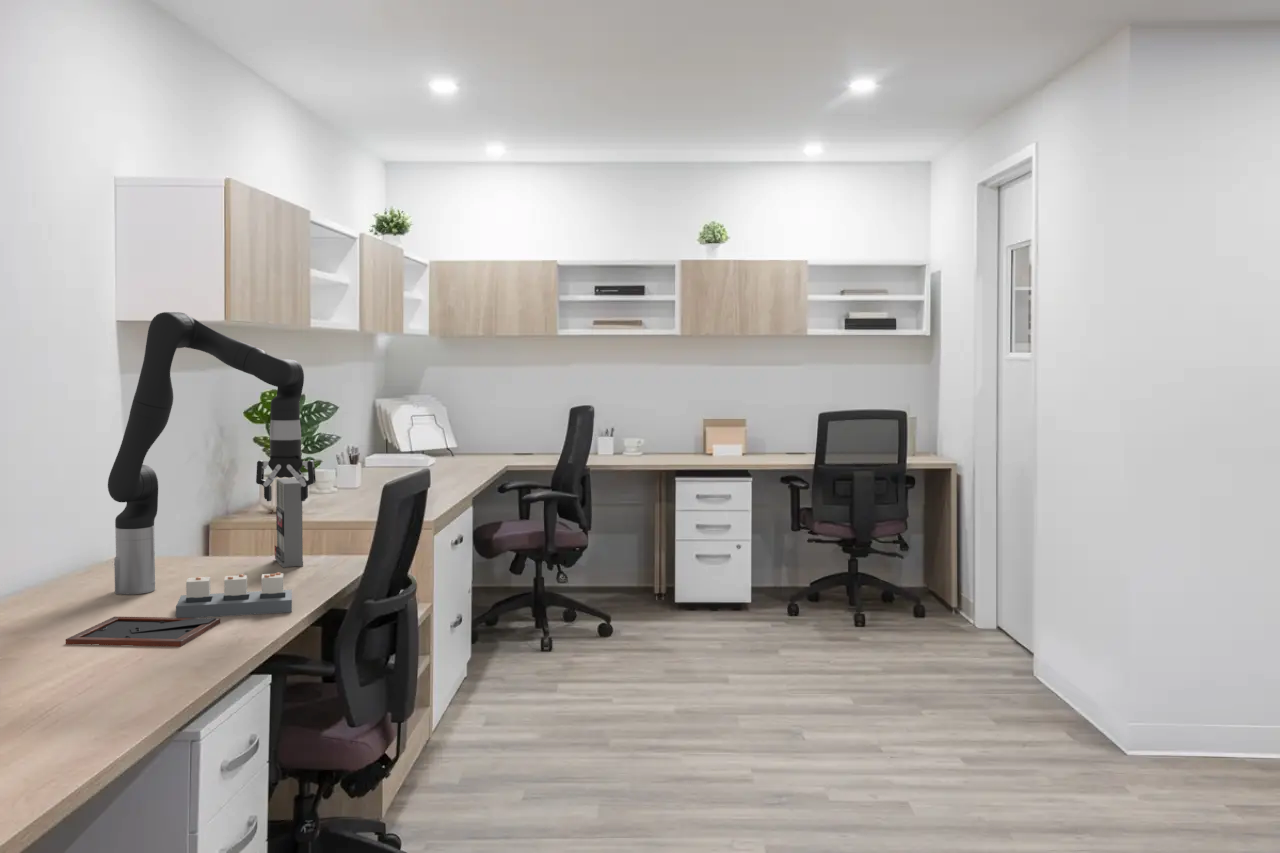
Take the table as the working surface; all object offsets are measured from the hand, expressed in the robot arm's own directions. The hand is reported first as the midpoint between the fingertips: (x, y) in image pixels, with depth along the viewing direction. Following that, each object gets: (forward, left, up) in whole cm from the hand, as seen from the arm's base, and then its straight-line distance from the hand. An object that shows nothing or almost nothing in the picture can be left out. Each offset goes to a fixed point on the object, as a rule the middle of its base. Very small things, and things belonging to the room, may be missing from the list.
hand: (286, 500), depth 266 cm
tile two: (-12, -8, -22) cm, 26 cm away
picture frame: (-30, -26, -26) cm, 48 cm away
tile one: (-20, -8, -22) cm, 31 cm away
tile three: (-3, -8, -22) cm, 24 cm away
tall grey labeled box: (0, +50, -26) cm, 56 cm away
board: (-12, -8, -26) cm, 29 cm away
